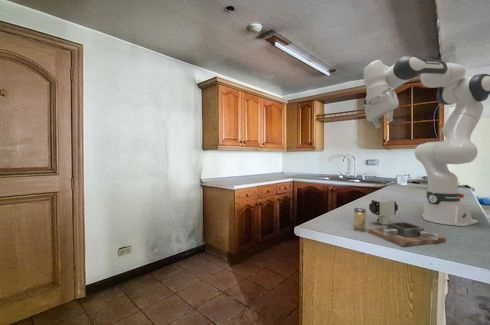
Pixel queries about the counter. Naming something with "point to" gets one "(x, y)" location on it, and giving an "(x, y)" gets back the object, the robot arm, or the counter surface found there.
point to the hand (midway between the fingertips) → (383, 124)
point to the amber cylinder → (359, 219)
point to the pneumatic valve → (383, 209)
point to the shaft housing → (406, 234)
